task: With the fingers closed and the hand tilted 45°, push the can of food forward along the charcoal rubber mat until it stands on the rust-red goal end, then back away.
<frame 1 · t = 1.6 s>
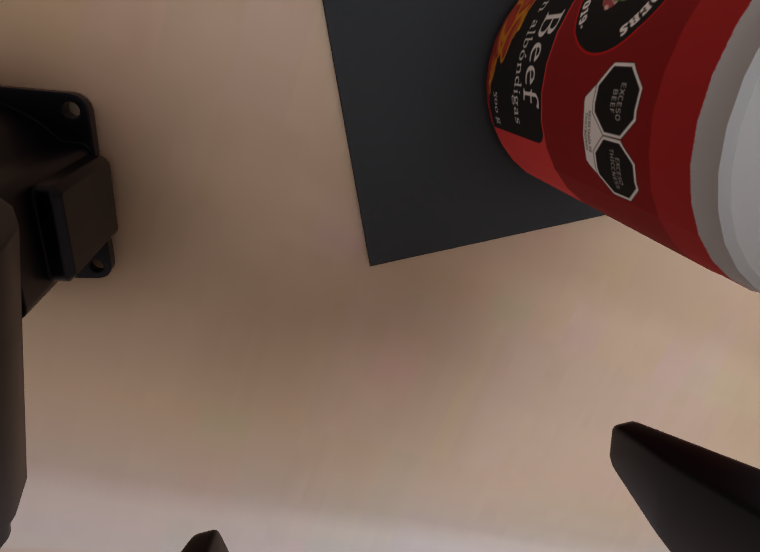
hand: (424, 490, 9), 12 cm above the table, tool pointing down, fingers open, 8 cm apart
mat: (510, 89, 18), on the table
canned food: (571, 78, 18), resting on mat
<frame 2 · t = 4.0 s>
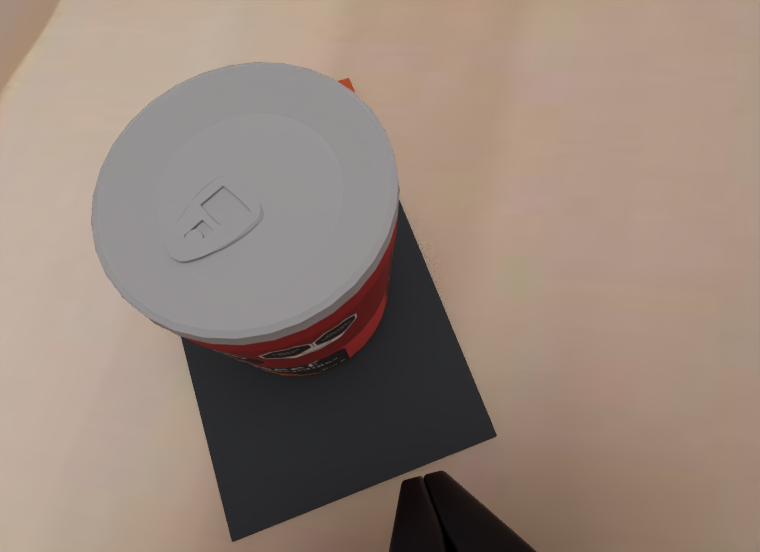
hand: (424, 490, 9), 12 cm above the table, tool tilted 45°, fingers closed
mat: (321, 344, 22), on the table
canned food: (306, 295, 22), resting on mat
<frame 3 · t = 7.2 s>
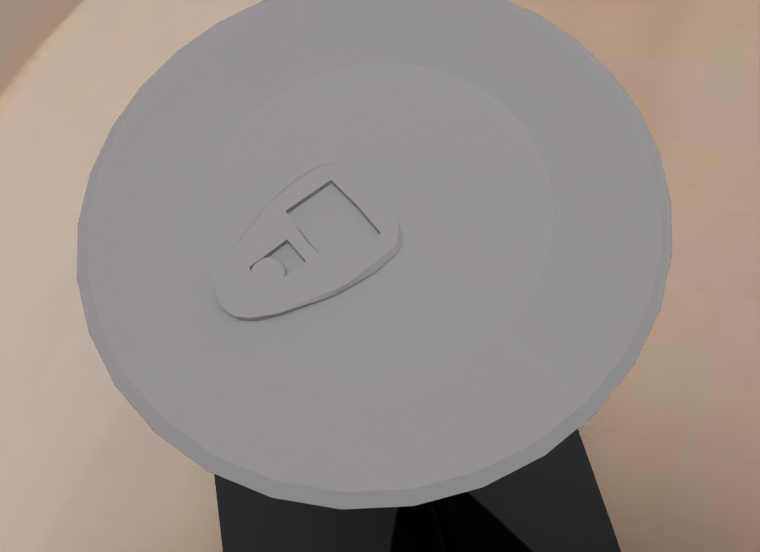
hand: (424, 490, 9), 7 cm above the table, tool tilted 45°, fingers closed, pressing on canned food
mat: (397, 442, 16), on the table
canned food: (376, 347, 17), resting on mat, touching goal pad, gripper
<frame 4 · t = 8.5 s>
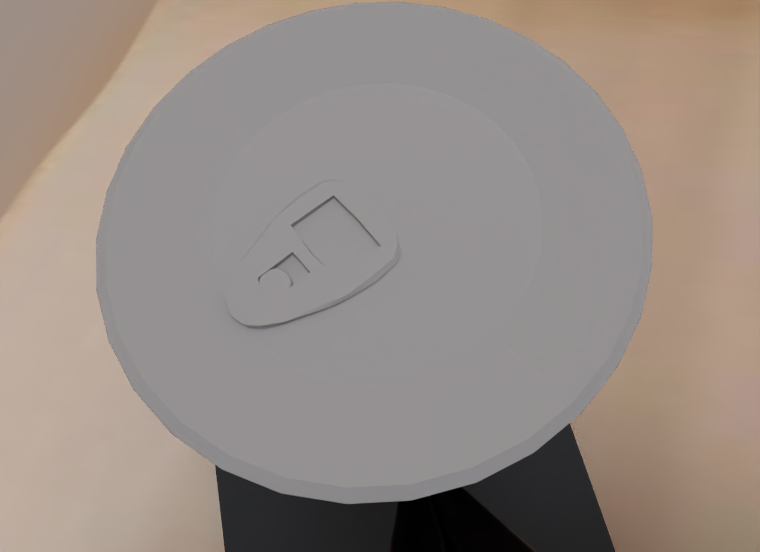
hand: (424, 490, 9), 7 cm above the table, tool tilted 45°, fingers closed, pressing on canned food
canned food: (376, 350, 17), resting on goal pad, touching gripper
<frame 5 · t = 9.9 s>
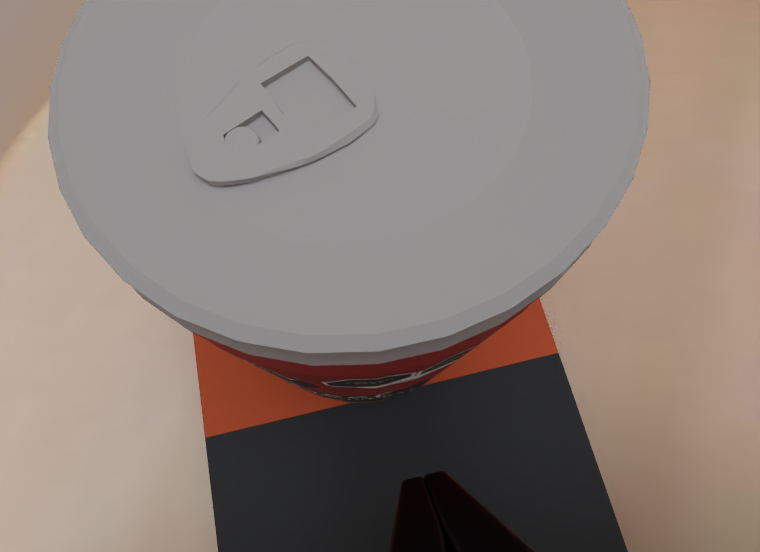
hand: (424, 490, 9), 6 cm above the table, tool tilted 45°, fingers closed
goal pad: (364, 296, 17), on the table
canned food: (366, 292, 17), resting on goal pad
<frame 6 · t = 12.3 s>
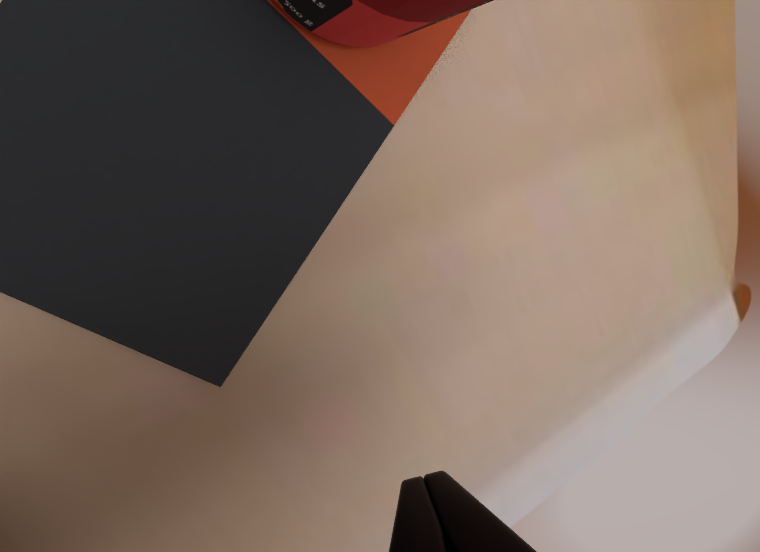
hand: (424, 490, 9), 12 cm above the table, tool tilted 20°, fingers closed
mat: (176, 161, 16), on the table
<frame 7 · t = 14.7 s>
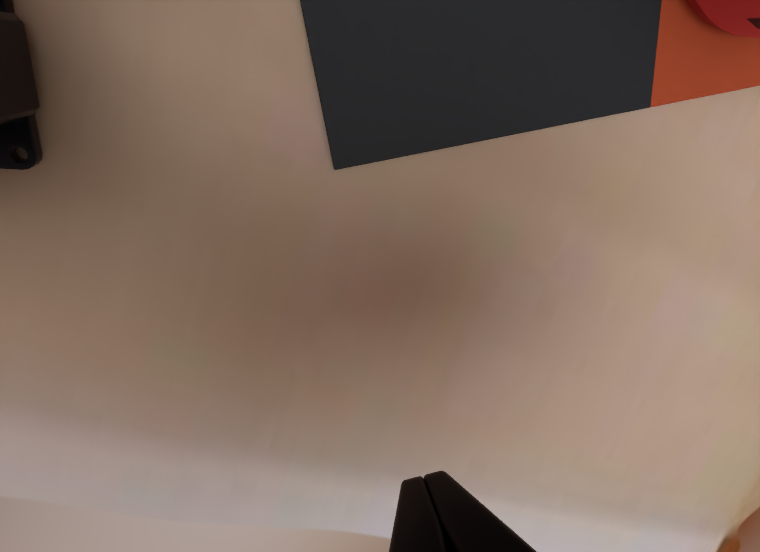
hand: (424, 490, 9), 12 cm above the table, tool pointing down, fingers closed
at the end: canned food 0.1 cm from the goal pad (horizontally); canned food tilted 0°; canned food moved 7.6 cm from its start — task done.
